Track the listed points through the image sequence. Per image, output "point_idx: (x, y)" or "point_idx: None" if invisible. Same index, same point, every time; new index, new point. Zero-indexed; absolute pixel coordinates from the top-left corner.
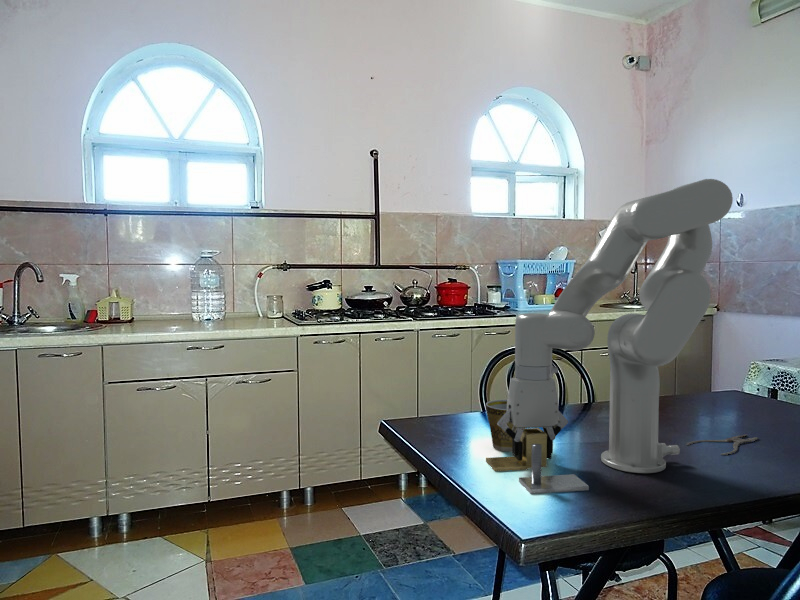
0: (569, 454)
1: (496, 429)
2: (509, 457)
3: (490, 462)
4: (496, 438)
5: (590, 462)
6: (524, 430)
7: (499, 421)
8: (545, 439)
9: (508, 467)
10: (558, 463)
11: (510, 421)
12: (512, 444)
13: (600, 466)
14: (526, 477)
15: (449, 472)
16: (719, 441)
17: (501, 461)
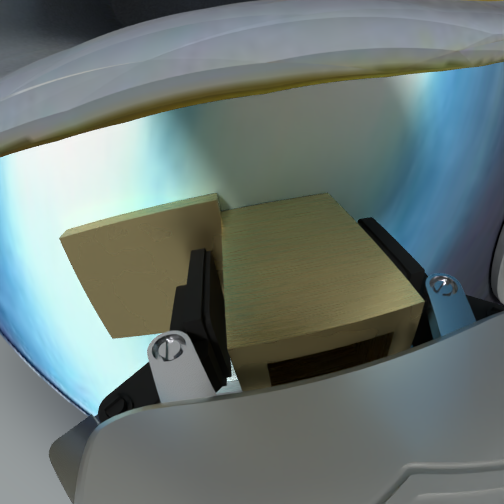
0: (469, 130)
1: (48, 34)
2: (169, 223)
3: (86, 293)
4: (91, 26)
5: (481, 222)
6: (278, 352)
7: (65, 475)
8: None
9: (162, 331)
10: (393, 234)
11: (128, 422)
12: (172, 319)
13: (480, 255)
14: (219, 394)
15: (4, 325)
16: None
17: (129, 280)
